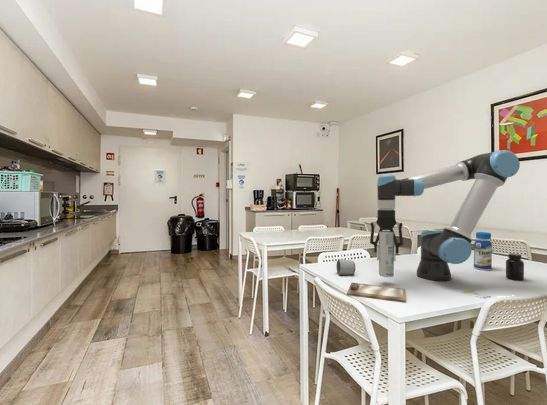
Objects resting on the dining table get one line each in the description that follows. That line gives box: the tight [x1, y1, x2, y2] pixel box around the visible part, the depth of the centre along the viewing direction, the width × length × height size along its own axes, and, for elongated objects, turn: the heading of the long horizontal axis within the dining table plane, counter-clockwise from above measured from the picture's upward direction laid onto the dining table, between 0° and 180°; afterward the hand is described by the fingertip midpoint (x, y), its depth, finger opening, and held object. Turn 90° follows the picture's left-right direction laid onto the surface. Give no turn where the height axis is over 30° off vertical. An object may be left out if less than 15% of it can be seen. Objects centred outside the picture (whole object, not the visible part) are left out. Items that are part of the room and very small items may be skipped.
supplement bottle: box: [505, 253, 525, 282], centre depth 143 cm, size 7×7×12 cm
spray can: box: [378, 230, 395, 278], centre depth 134 cm, size 6×6×20 cm
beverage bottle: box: [473, 231, 494, 271], centre depth 162 cm, size 8×8×20 cm
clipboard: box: [346, 282, 407, 303], centre depth 122 cm, size 22×15×2 cm
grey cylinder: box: [336, 258, 356, 276], centre depth 151 cm, size 11×8×8 cm
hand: (386, 260), depth 134 cm, fingers closed on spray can, 6 cm apart
